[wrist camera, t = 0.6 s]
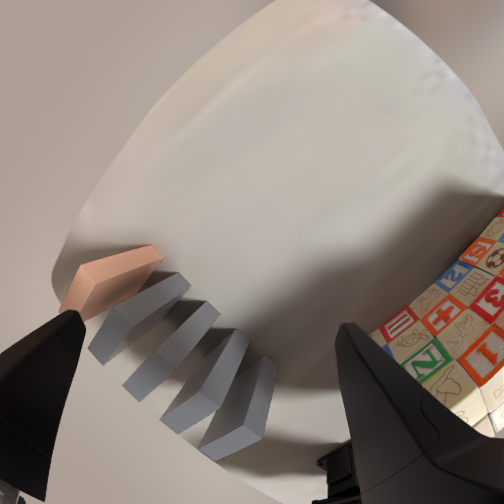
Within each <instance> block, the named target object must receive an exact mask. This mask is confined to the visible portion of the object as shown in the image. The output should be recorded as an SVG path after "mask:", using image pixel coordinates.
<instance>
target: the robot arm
mask: <svg viewBox="0 0 504 504" xmlns="http://www.w3.org/2000/svg"><path fill="white" fill-rule="evenodd" d="M85 334H86V327H85V324H84V322H83V320H82V318H81V315H80V313H79V312H78V311H77V310H72V309H68V310H66V311H64V312H63V313H61V314H60V315H58V316H56V317H55V318H53V319H52V320H50V321H49V322H47V323H45V324H44V325H42V326H41V327H39V328H38V329H36V330H35V331H33V332H31V333H30V334H29V335H27V336H25V337H24V338H22V339H21V340H20V341H18V342H16V343H15V344H14V345H12V346H11V347H9V348H8V349H6V350H5V351H3V352H2V353H1V354H0V504H26V503H25V500H24V498H22V497H21V496H20V491H22V492H24V493H26V494H28V495H30V496H32V497H34V498H36V499H38V500H41V501H43V502H44V501H45V497H46V490H47V483H48V476H49V470H50V464H51V458H52V454H53V449H54V444H55V440H56V436H57V432H58V428H59V424H60V420H61V416H62V413H63V409H64V406H65V402H66V399H67V396H68V393H69V389H70V386H71V383H72V380H73V377H74V374H75V371H76V368H77V364H78V361H79V357H80V353H81V349H82V345H83V341H84V338H85ZM335 349H336V357H337V366H338V375H339V383H340V389H341V394H342V399H343V403H344V408H345V412H346V417H347V422H348V426H349V431H350V436H351V441H352V442H351V443H349V444H348V445H346V446H344V447H342V448H341V449H339V450H337V451H335V452H333V453H331V454H329V455H327V456H326V457H324V458H322V459H320V460H318V461H317V466H319V467H321V468H322V469H324V470H326V471H327V481H326V483H327V484H328V498H327V499H322V500H313V501H312V504H504V439H503V438H492V437H488V436H486V435H483V434H481V433H480V432H478V431H477V430H475V429H474V428H473V427H471V426H470V425H469V424H467V423H466V422H465V421H464V420H462V419H461V418H460V417H458V416H457V415H456V414H454V413H453V412H452V411H451V410H449V409H448V408H447V407H446V406H444V405H443V404H442V403H441V402H440V401H439V400H438V399H436V398H435V397H434V396H433V395H432V394H431V393H430V392H429V391H428V390H427V389H426V388H423V386H422V385H421V384H420V383H419V382H418V381H417V380H416V379H415V378H414V377H413V376H412V375H411V374H410V373H409V372H407V371H406V370H405V369H404V368H403V367H402V366H401V365H400V364H399V363H398V362H397V361H396V360H395V359H394V358H392V357H391V356H390V355H389V354H388V353H387V352H386V351H385V350H384V349H383V348H382V347H381V346H380V345H378V344H377V343H376V342H375V341H374V340H373V339H372V338H371V337H370V336H369V335H368V334H366V333H365V332H364V331H363V330H362V329H361V328H360V327H359V326H358V325H357V324H356V323H354V322H342V323H341V324H340V327H339V330H338V333H337V337H336V340H335Z"/></svg>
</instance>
